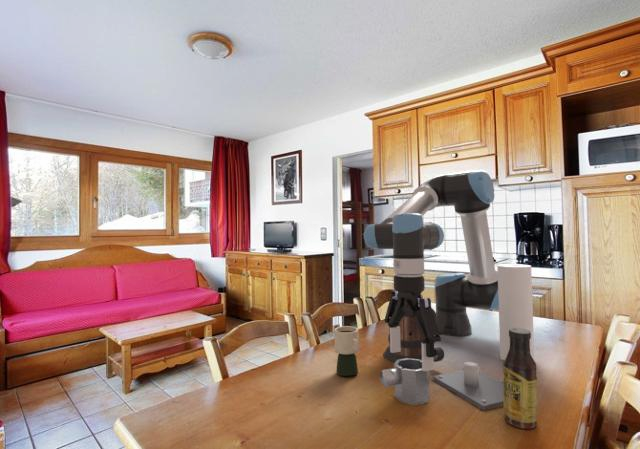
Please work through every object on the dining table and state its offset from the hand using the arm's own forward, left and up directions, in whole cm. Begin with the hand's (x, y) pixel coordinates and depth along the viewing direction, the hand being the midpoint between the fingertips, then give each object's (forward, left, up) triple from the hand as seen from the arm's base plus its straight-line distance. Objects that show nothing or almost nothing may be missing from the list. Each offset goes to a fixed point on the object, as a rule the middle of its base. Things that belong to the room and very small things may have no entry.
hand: (410, 360), depth 87 cm
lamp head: (0, -2, -9) cm, 9 cm away
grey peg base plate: (+3, +18, -9) cm, 21 cm away
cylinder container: (-8, +45, -9) cm, 47 cm away
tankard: (-21, +16, -9) cm, 28 cm away
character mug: (-19, -9, -9) cm, 23 cm away
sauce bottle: (+19, +14, -9) cm, 25 cm away
